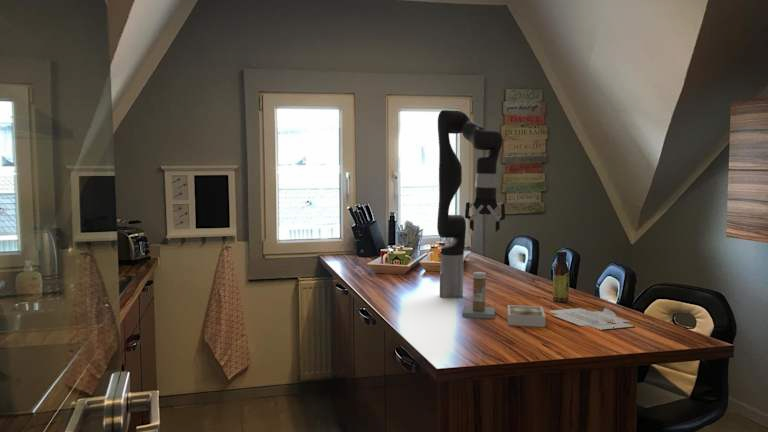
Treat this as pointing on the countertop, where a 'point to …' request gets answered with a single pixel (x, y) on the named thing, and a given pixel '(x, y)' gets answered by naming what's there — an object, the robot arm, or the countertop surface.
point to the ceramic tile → (478, 312)
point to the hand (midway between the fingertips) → (484, 230)
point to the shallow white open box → (526, 317)
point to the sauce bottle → (561, 278)
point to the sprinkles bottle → (479, 291)
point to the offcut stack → (525, 311)
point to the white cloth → (591, 318)
